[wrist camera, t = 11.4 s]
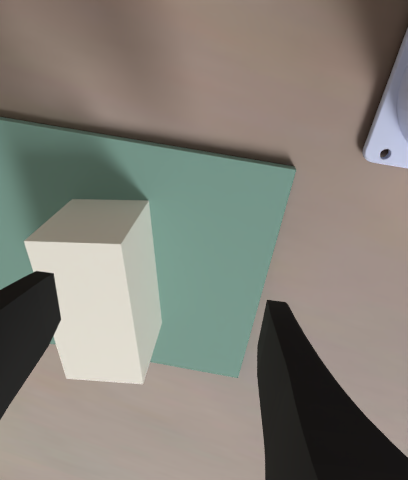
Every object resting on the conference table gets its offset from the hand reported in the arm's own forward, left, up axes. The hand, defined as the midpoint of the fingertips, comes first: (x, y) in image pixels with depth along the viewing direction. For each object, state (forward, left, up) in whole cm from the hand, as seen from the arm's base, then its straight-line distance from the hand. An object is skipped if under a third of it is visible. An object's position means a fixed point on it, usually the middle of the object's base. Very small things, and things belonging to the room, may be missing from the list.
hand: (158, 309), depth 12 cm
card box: (+4, +5, -9) cm, 11 cm away
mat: (+4, +5, -9) cm, 11 cm away
